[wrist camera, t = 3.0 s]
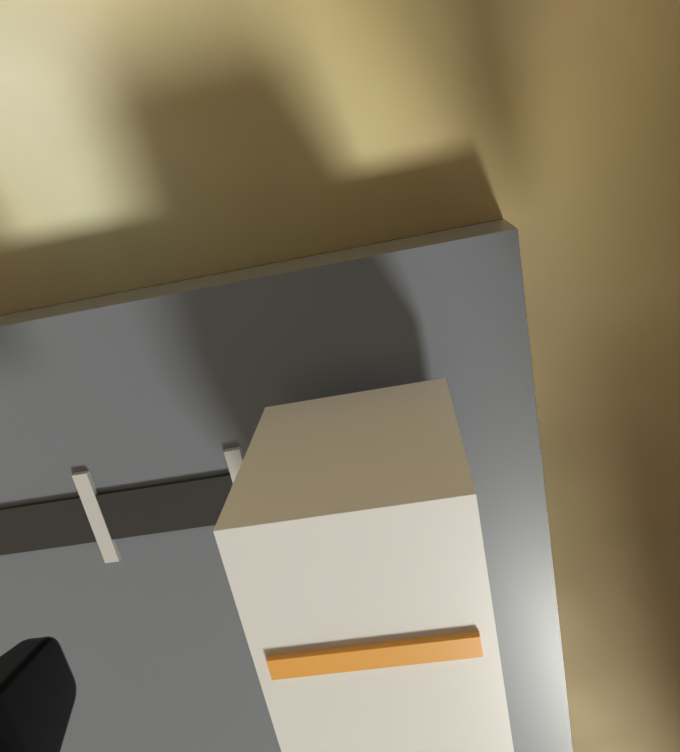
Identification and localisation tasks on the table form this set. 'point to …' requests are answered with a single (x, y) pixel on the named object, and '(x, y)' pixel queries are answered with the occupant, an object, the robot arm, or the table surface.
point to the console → (223, 460)
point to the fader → (366, 576)
